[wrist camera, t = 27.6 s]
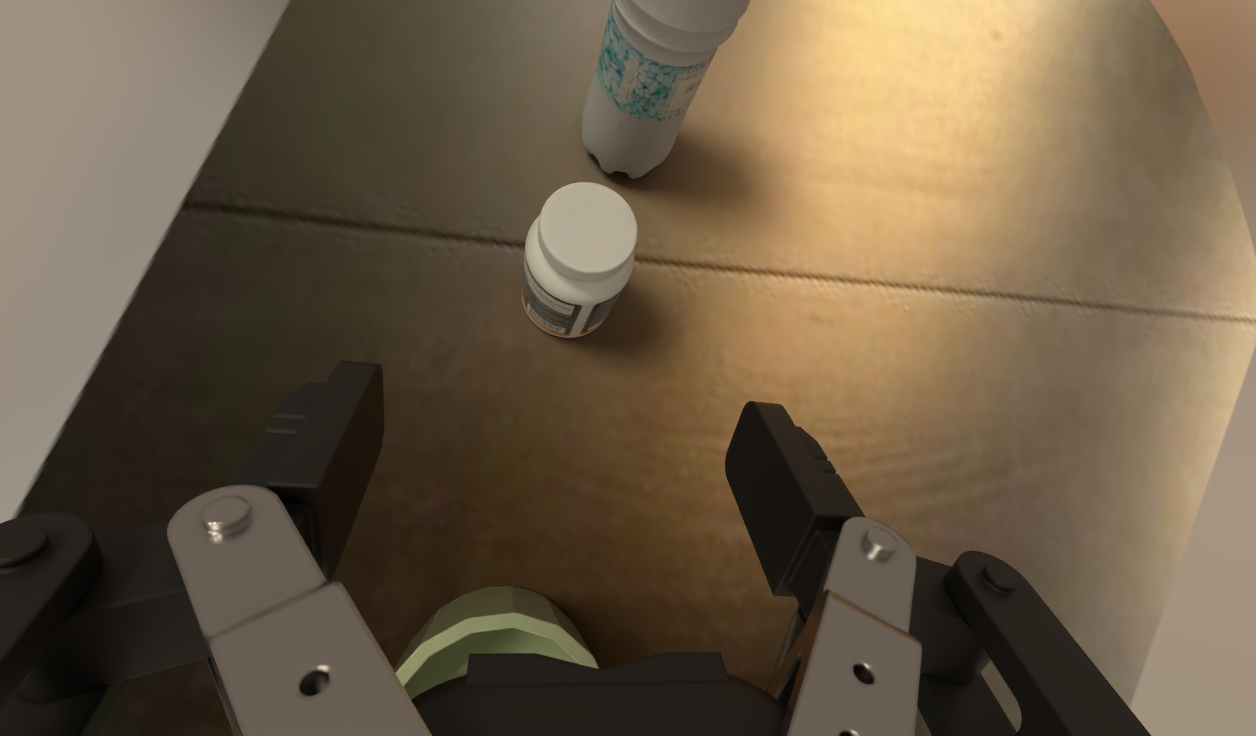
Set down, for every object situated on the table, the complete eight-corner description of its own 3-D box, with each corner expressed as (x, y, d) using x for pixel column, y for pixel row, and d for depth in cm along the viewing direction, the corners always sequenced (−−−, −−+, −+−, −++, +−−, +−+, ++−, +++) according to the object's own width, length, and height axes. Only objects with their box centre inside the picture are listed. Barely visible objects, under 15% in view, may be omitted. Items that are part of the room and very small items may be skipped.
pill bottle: (594, 248, 37) (628, 161, 27) (620, 329, 36) (665, 268, 26) (509, 265, 35) (514, 180, 26) (534, 350, 34) (549, 294, 25)
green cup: (363, 761, 28) (312, 862, 20) (442, 562, 30) (424, 584, 23) (549, 810, 29) (569, 921, 21) (609, 615, 32) (644, 652, 24)
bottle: (642, 207, 38) (788, -82, 19) (556, 156, 37) (618, -195, 18) (683, 137, 40) (850, -187, 21) (602, 87, 39) (699, -292, 21)
